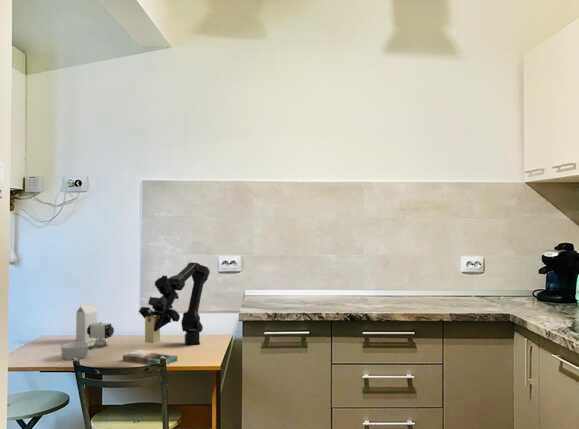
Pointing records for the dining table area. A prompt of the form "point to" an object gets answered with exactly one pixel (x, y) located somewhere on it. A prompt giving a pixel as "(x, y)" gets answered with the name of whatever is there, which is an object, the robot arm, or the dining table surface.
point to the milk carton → (85, 322)
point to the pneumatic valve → (100, 332)
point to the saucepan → (77, 350)
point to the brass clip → (151, 329)
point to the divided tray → (147, 357)
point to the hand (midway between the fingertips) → (150, 330)
